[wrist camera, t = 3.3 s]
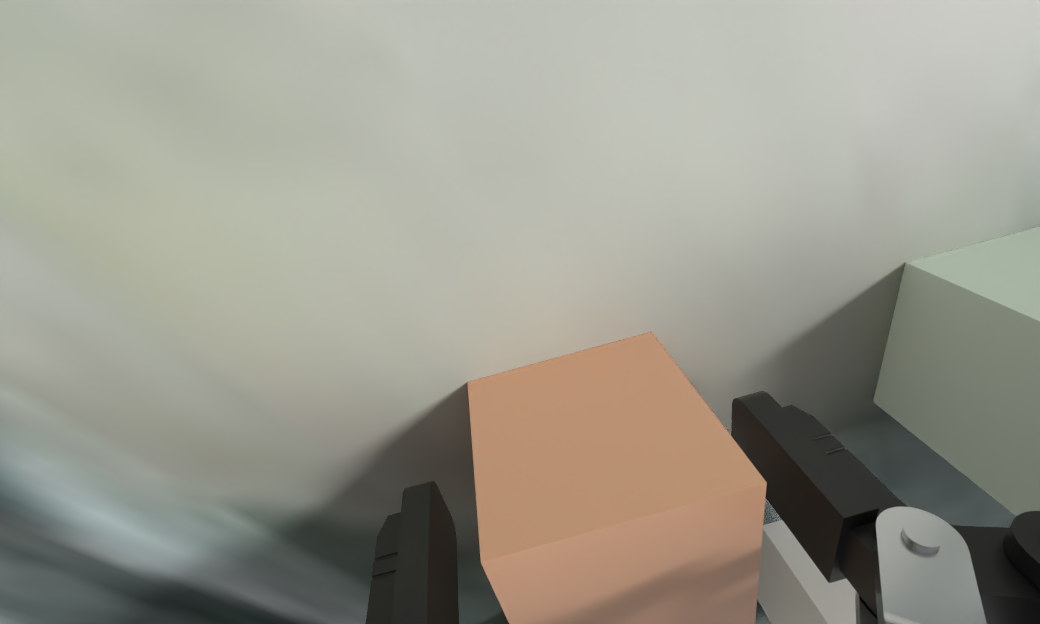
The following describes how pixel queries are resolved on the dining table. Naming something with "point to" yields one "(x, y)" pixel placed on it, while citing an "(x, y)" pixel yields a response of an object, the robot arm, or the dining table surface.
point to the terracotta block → (613, 493)
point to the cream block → (799, 584)
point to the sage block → (972, 363)
